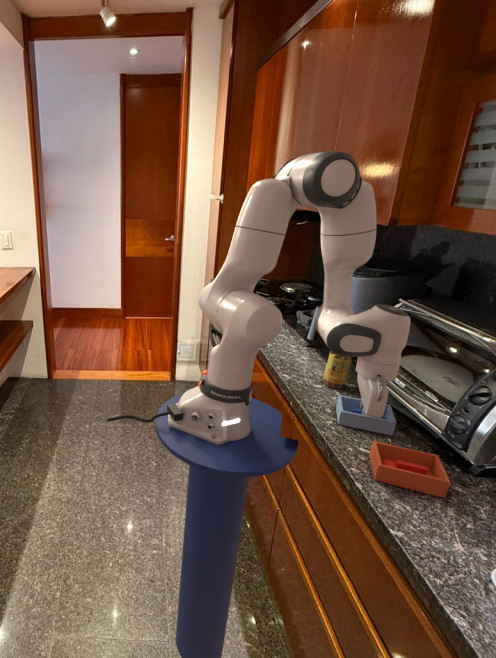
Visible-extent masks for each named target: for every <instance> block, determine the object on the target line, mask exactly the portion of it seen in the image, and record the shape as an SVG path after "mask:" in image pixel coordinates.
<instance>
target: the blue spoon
mask: <svg viewBox="0 0 496 658" xmlns="http://www.w3.org/2000/svg"><path fill="white" fill-rule="evenodd" d="M351 412H352V413H357V414H361V412H362V409H357V408H352V410H351ZM361 415H362V414H361ZM381 419H386V418H384V417H382V418H381Z"/></svg>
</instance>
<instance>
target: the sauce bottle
mask: <svg viewBox="0 0 496 658" xmlns="http://www.w3.org/2000/svg"><path fill="white" fill-rule="evenodd" d="M353 359H354V357H342V356H338V355H336V354H334V353H333V352H332V351H330V352H329V355H328V359H327V362H326V366H325V370H324V372H323V373H324V374H323V382H322V383H323V384H324V385H325V386H326V387H330V388H333V389H342V388H344V386H345V384H346V383H347V380H348V376H349V373H350V369H351V365H352V361H353Z"/></svg>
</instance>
